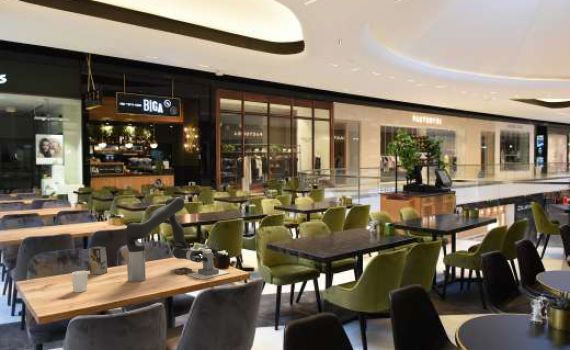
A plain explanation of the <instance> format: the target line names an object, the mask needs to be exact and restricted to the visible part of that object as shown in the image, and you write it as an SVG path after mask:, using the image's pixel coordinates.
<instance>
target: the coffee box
mask: <svg viewBox="0 0 570 350" xmlns="http://www.w3.org/2000/svg"><path fill="white" fill-rule="evenodd" d="M107 249H108V248H107V246H92V247H88V263H89V274H90V273H91V275H92V274H93V275H103V273H104V274H106V273H108V272H107V271H108V254H107V253H108V252H107ZM105 272H106V273H105Z"/></svg>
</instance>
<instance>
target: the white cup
mask: <svg viewBox="0 0 570 350" xmlns="http://www.w3.org/2000/svg"><path fill="white" fill-rule="evenodd" d="M71 283H72V292H73V293H81V292H82V293H83V292H86V291H87V290H88V270H76V271H72V272H71Z"/></svg>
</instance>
